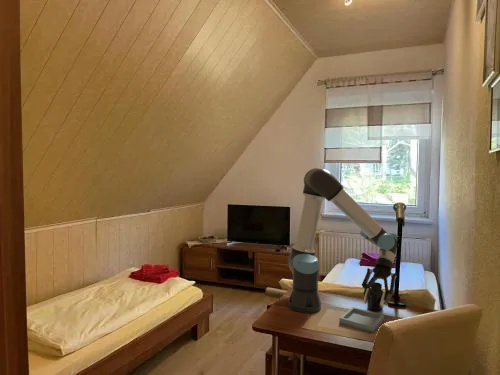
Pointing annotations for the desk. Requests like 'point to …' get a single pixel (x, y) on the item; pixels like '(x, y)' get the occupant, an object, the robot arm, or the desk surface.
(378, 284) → the supplement bottle
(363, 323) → the tray
